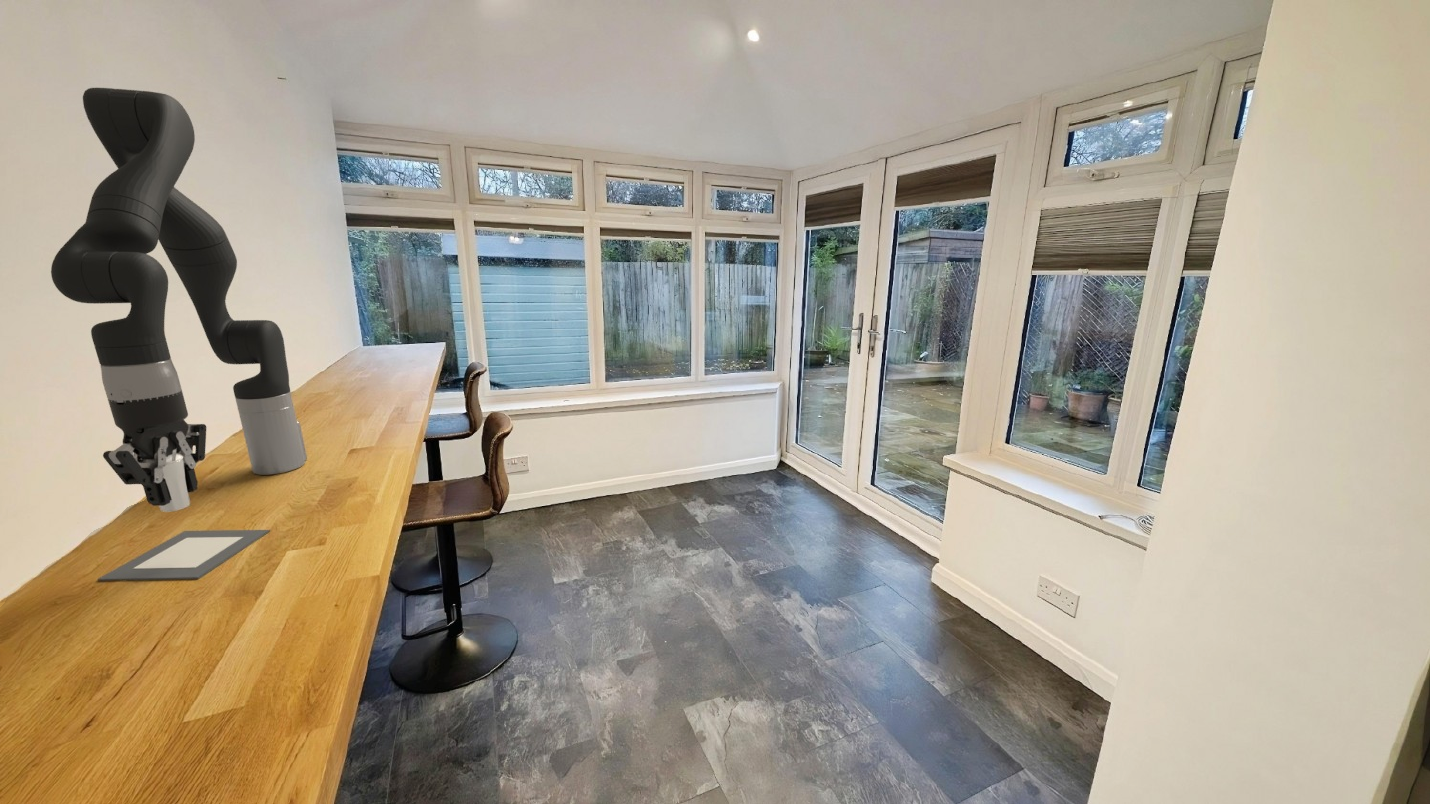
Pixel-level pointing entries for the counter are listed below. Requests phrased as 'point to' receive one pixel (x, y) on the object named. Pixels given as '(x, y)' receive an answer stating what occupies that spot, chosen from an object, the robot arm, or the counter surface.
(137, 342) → the robot arm
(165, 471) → the milkshake
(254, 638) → the counter surface
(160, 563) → the pad
